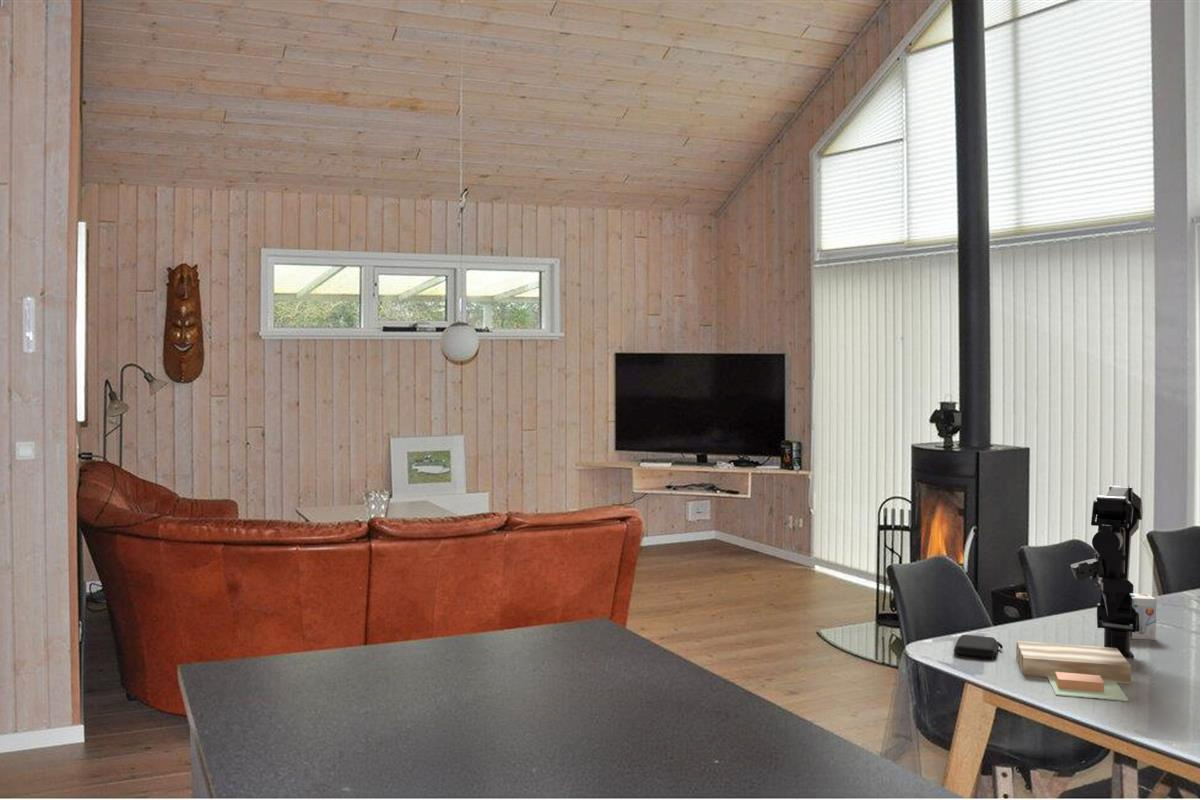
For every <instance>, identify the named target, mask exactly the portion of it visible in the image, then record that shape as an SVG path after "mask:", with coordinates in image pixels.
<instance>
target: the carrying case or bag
mask: <svg viewBox="0 0 1200 800" xmlns="http://www.w3.org/2000/svg"><path fill="white" fill-rule="evenodd" d="M1003 647H1004V646H1003V644H1001V642H999V641H997V640H996V638H994V637H991V636H984V635H983V636H980V635H972V634H962V635H961V636H960V637H959V638H958V639H957V641H956V643H955V646H954V649H953V652H954V654H955V655H956V656H957V657H959V658H965V659H967V658H968V659H976V660H977V659H978V660H985V661H992V660H993V659H994V658H996V657H997V654H998V650H999V649H1001V650H1003Z"/></svg>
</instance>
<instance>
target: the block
mask: <svg viewBox="0 0 1200 800" xmlns="http://www.w3.org/2000/svg"><path fill="white" fill-rule="evenodd" d="M1055 682H1056V684H1057V687H1058V688H1060V689H1072V690H1083V691H1094V692H1104V682H1103V680H1102V678H1101V677H1100V675H1088V674H1077V673H1065V672H1055Z"/></svg>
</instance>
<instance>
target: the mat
mask: <svg viewBox="0 0 1200 800" xmlns="http://www.w3.org/2000/svg"><path fill="white" fill-rule="evenodd" d="M1046 678H1047V679H1048V681H1049V684H1050V686H1051V687H1052V690H1053V692H1054V694H1055V696H1060V697H1070V698H1081V697H1084V699H1092V698H1098V699H1097V700H1104V699H1106V701H1118V702H1126V703H1127V702H1130V700H1129V698H1128V697H1127V695H1126V694H1125V693H1124V691H1123V689H1122V688H1121V686H1119V683H1117V682H1116V681H1104V680H1103V682H1104V692H1094V691H1083V690H1072V689H1060V688H1058V687H1057V684H1056V682H1055V676H1047V677H1046Z"/></svg>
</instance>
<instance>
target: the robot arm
mask: <svg viewBox="0 0 1200 800" xmlns="http://www.w3.org/2000/svg"><path fill="white" fill-rule="evenodd" d="M1143 513H1144V512H1143V501H1142V498H1141V497H1140V496H1139V495H1138V494H1136V493H1135V492H1134V489H1133V486H1130V485H1129V484H1128V485H1126V484H1125V485H1123V484H1112V485H1109V489H1108V493H1107V494H1098V495H1097V496H1096V499H1093V504H1092V511H1091V520H1090V521H1091V522H1090V525H1091V526H1096V527H1098V528H1097V531H1096V533H1095V534H1094V535H1093V537H1092V540H1091V544H1092V548H1093V549H1094V551H1095V553H1094V558H1091V559H1086V560H1081V561H1078V562H1075V563H1072V564H1070V569H1071V571H1072V574H1073V577H1074V578H1075V580H1076V581H1083V580H1084V579H1086V578H1090V579H1091V580H1095V579H1098V581H1097V582H1095V583H1094V585H1095V587H1097V589H1098V590H1099V591H1101V595H1100V599H1099V600H1100V602H1098V603H1097V606H1096V620H1097V621H1096V625H1097V626H1096V627H1097V629H1103V630H1104V631H1103V647H1109V648H1117V649H1118V650H1119V651H1120V653H1121V654H1122V655H1123V656H1124V658H1135V655H1134V654H1133V652H1132V651H1131V638H1130V632H1139V631H1140V621H1139V613H1138V612H1137V610H1136V607H1134V603H1133V599H1132V597H1131V595H1130V594H1134V584H1133V583H1132V582H1131V581H1130V580H1129V577H1130V576H1129V574H1130V561H1131V560H1130V558H1131V545H1132V543H1131V542H1132V536H1134V534H1135V533H1136V532H1137V531H1138V530H1139V527H1140V521H1142V520H1143ZM1130 624H1133V626H1131V625H1130Z"/></svg>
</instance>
